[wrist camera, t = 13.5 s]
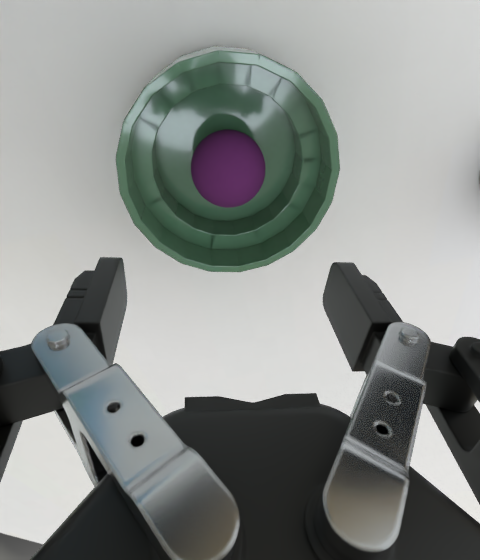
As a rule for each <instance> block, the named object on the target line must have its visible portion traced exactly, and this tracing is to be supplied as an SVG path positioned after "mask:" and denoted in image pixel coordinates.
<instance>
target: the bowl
mask: <svg viewBox="0 0 480 560" xmlns="http://www.w3.org/2000/svg"><path fill="white" fill-rule="evenodd" d="M225 129H230V130H236V131H240V132H242V133H245V134H246V135H248V136H249V137H251V138H252V139H253V140H254V141H255V142H256V143H257V145H258V146H259V147H260V149H261V151H262V153H263V156H264V160H265V167H266V170H265V178H264V182H263V184H262V186H261V188H260V190H259V192H258V193H257V194H256V195H255V197H253V198H252V199H251V200H250V201H249V202H247V203H245V204H243V205H241V206H237V207H230V208H226V207H220V206H217V205H214V204H212V203H210V202H209V201H207V200H206V199H205V198H203V197H202V196H201V194H200V193H199V192H198V190H197V189H196V187H195V185H194V183H193V180H192V175H191V161H192V157H193V154H194V151H195V149H196V147H197V146H198V145H199V143H200V142H201V141H202V140H203V139H204V138H205V137H207V136H208V135H210V134H211V133H213V132H216V131H219V130H225ZM116 165H117V174H118V182H119V190H120V195H121V197H122V199H123V201H124V203H125V205H126V208H127V210H128V212H129V214H130V216H131V218H132V221H133V223H134V224H135V225H136V226H137V228H138V229H139V230H140V231H141V232H142V233H143V234H144V235H145V236H146V238H147V239H148V240H149V241H150V242H151V243H152V244H153V245H154V246H155V247H156V248H157V249H159V250H161V251H162V252H164V253H165V254H167V255H169V256H170V257H172V258H174V259H175V260H177V261H178V262H180V263H182V264H185V265H189V266H192V267H196V268H199V269H203V270H206V271H211V272H242V271H246V270H250V269H254V268H258V267H262V266H266V265H269V264H271V263H273V262H275V261H276V260H278V259H280V258H282V257H284V256H285V255H287V254H289V253H291V252H293V251H294V250H295V249H296V248H297V247H298V246H299V245H300V244H301V243H302V242H304V241H305V240H306V239H307V238H308V237H309V236H310V235H311V234H312V233H313V232H314V231H315V230H316V229H317V227H318V225H319V224H320V222H321V220H322V219H323V217H324V215H325V213H326V212H327V210H328V208H329V206H330V205H331V203H332V200H333V196H334V192H335V187H336V183H337V179H338V175H339V171H340V164H339V151H338V137H337V132H336V130H335V128H334V125H333V123H332V121H331V118H330V116H329V114H328V111H327V109H326V107H325V104H324V102H323V101H322V99H321V98H320V97H319V96H318V95H317V93H316V92H315V91H314V90H313V89H312V88H311V87H310V86H309V85H308V84H307V83H306V82H305V81H304V80H303V78H302V77H301V76H300V75H299V74H298V73H297V72H295V71H294V70H292V69H290V68H288V67H286V66H284V65H282V64H280V63H278V62H275V61H273V60H271V59H269V58H267V57H265V56H263V55H261V54H259V53H257V52H255V51H253V50H251V49H246V48H235V47H224V46H213V47H209V48H206V49H202V50H199V51H196V52H192V53H189V54H185V55H182V56H181V57H179V58H178V59H177V60H175V61H174V62H173V63H171V64H170V65H169V66H167V67H166V68H165V69H164V70H162V71H161V72H160V73H158V74H157V75H156V76H155V77H154V78H153V79H152V80H151V81H150V82H149V83H148V84H147V85H146V86H145V88H144V89H143V90H142V92H141V94H140V95H139V97H138V98H137V100H136V102H135V103H134V105H133V106H132V108H131V110H130V111H129V113H128V114H127V116H126V118H125V119H124V122H123V126H122V130H121V135H120V140H119V144H118V149H117V153H116Z"/></svg>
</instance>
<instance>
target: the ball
mask: <svg viewBox="0 0 480 560" xmlns="http://www.w3.org/2000/svg"><path fill="white" fill-rule="evenodd" d="M265 170H266V167H265V160H264V156H263V153H262V151H261V149H260V147H259V146H258V145H257V143H256V142H255V141H254V140H253V139H252V138H251V137H249V136H248V135H246V134H245V133H242V132H240V131H236V130H230V129H225V130H219V131H216V132H213V133H211V134H210V135H208V136H207V137H205V138H204V139H203V140H202V141H201V142H200V143H199V145H198V146H197V147H196V149H195V151H194V154H193V157H192V161H191V175H192V180H193V183H194V185H195V187H196V189H197V190H198V192H199V193H200V194H201V196H202V197H203V198H205V199H206V200H207V201H209V202H210V203H212V204H214V205H217V206H220V207H226V208H230V207H237V206H241V205H243V204H245V203H247V202H249V201H250V200H251V199H252V198H253V197H255V195H256V194H257V193H258V192H259V190H260V188H261V186H262V184H263V182H264V178H265Z"/></svg>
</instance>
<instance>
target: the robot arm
mask: <svg viewBox="0 0 480 560" xmlns="http://www.w3.org/2000/svg"><path fill="white" fill-rule="evenodd" d="M126 306H127V289H126V281H125V272H124V264H123V259H122V258H108V257H101V258H100V259H99V261H98V264H97V266H96V268H95V271H84V272H83V273H82V274H80V275H79V276H78V277H77V278H75V280H74V282H73V284H72V286H71V288H70V290H69V293H68V295H67V298H66V299H65V301H64V303H63V305H62V307H61V310H60V312H59V314H58V316H57V318H56V320H55V322H54V324H53V326H50V327H47V328H45V329H44V330H42V331H40V332H39V333H38V334H37V335H36V336H35V337H34V339H33V341H32V343H31V344H29V345H26V346H22V347H18V348H13V349H9V350H4V351H0V482H1V479H2V476H3V474H4V471H5V468H6V465H7V462H8V460H9V457H10V454H11V451H12V449H13V446H14V443H15V440H16V438H17V435H18V432H19V429H20V427H21V424H22V421H23V420H25V419H29V418H32V417H35V416H39V415H42V414H45V413H49V412H52V411H54V412H55V414H56V416H57V417H58V419H59V421H60V423H61V424H62V426H63V428H64V430H65V431H66V433H67V435H68V437H69V438H70V440H71V442H72V444H73V445H74V447H75V449H76V450H77V452H78V454H79V456H80V458H81V460H82V463H83V465H84V467H85V470H86V472H87V474H88V476H89V478H90V479H91V481H92V483H93V485H94V487H95V488H94V489H93V490H92V491H91V492H90V493H89V494H88V495H87V497H86V498H85V499H84V500H83V501H82V502H81V503H80V504H79V505H78V507H77V508H76V509H75V510H74V511H73V512H72V513H71V514H70V515H69V517H68V518H67V519H66V520H65V521H64V522H63V523H62V524H61V526H60V527H59V528H58V529H57V530H56V531H55V532H54V533H53V534H52V536H51V537H50V538H49V539H48V540H47V541H46V542H45V543H44V544H43V546H42V547H41V548H40V549H39V550H38V551H37V552H36V553H35V554H34V556H33V557H32V558H31V559H30V560H480V524H479V523H478V522H477V521H476V520H475V519H473V518H472V517H471V516H470V515H469V514H467V513H466V512H465V511H464V510H463V509H461V508H460V507H459V506H458V505H457V504H455V503H454V502H453V501H452V500H450V499H449V498H448V497H447V496H446V495H444V494H443V493H442V492H441V491H440V490H438V489H437V488H436V487H435V486H433V485H432V484H431V483H430V482H429V481H427V480H426V479H425V478H424V477H423V476H421V475H420V474H419V473H418V472H417V471H415V470H414V469H413V468H412V467H411V466H410V461H411V456H412V451H413V447H414V442H415V437H416V433H417V428H418V423H419V419H420V414H421V409H422V404H426V406H427V408H428V410H429V411H430V413H431V415H432V417H433V419H434V421H435V422H436V424H437V426H438V428H439V430H440V432H441V434H442V435H443V437H444V439H445V441H446V443H447V445H448V447H449V448H450V450H451V452H452V454H453V456H454V458H455V460H456V461H457V463H458V465H459V467H460V469H461V471H462V473H463V474H464V476H465V478H466V480H467V482H468V484H469V486H470V487H471V489H472V491H473V493H474V495H475V497H476V498H477V500H478V502H479V504H480V413H479V412H478V410H477V409H476V407H475V406H474V404H475V402H476V401H477V400H478V401H479V402H480V339H477V338H473V337H462V338H459V339H458V340H457V342H456V344H455V345H454V347H452V346H447V345H443V344H438V343H434V342H431V341H430V339H429V337H428V335H427V334H426V333H425V332H424V331H422V330H421V329H420V328H418V327H416V326H414V325H412V324H409V323H404V322H403V321H402V320H401V318H400V317H399V315H398V314H397V313H396V311H395V310H394V308H393V307H392V305H391V304H390V303H389V301H388V300H387V298H386V297H385V295H384V294H383V293H382V291H381V290H380V288H379V287H378V285H377V284H376V283H375V282H374V281H373V280H371V279H370V278H369V277H367V276H366V275H361V273H360V272H359V270H358V269H357V267H356V266H355V264H354V263H342V262H334V263H333V264H332V266H331V268H330V272H329V275H328V279H327V283H326V286H325V290H324V294H323V306H324V309H325V312H326V314H327V316H328V318H329V321H330V323H331V325H332V327H333V329H334V332H335V334H336V336H337V338H338V340H339V343H340V345H341V347H342V349H343V351H344V354H345V356H346V358H347V360H348V362H349V365H350V367H351V369H352V371H365V372H366V375H367V376H366V378H365V380H364V383H363V385H362V387H361V390H360V392H359V395H358V397H357V400H356V402H355V405H354V407H353V410H352V412H351V414H350V417H349V416H348V415H346V414H344V413H343V412H341V411H339V410H337V409H334V408H332V407H329V406H326V405H323V404H320V403H319V400H318V397H317V394H316V393H311V394H284V395H281V396H277V397H274V398H270V399H266V400H263V401H259V402H255V403H251V402H245V401H240V400H235V399H229V398H224V397H219V396H215V397H185V408H182V409H179V410H176V411H174V412H171V413H169V414H167V415H165V416H164V417H162V416H161V415H160V414H159V413H158V411H157V410H156V409H155V408H154V406H153V405H152V404H151V403H150V402H149V400H148V399H147V398H146V397H145V395H144V394H143V393H142V392H141V390H140V389H139V388H138V387H137V386H136V384H135V383H134V382H133V381H132V379H131V378H130V377H129V376H128V375H127V373H126V372H125V371H124V370H123V368H122V367H121V366H120V365H118V364H117V363H115V364H113V360H114V356H115V352H116V348H117V344H118V339H119V335H120V331H121V327H122V323H123V319H124V315H125V311H126ZM112 364H113V365H112Z"/></svg>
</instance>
